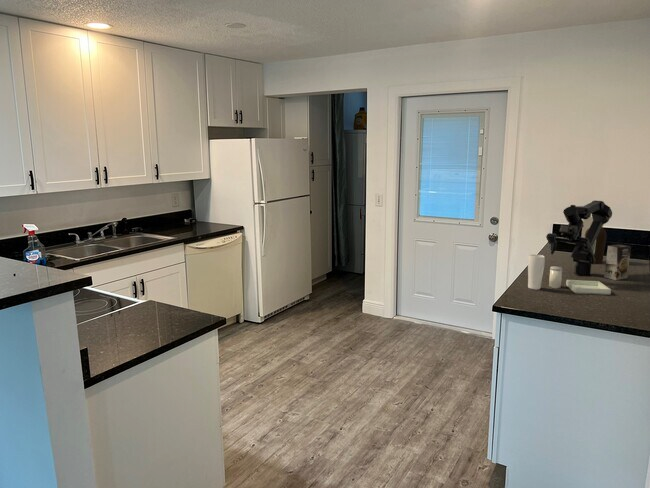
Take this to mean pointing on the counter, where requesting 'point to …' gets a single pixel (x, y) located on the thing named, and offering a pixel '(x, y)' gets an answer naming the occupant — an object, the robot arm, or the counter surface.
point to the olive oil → (599, 246)
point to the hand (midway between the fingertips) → (561, 255)
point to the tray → (588, 287)
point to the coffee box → (617, 262)
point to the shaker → (555, 277)
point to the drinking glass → (535, 271)
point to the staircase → (587, 225)
